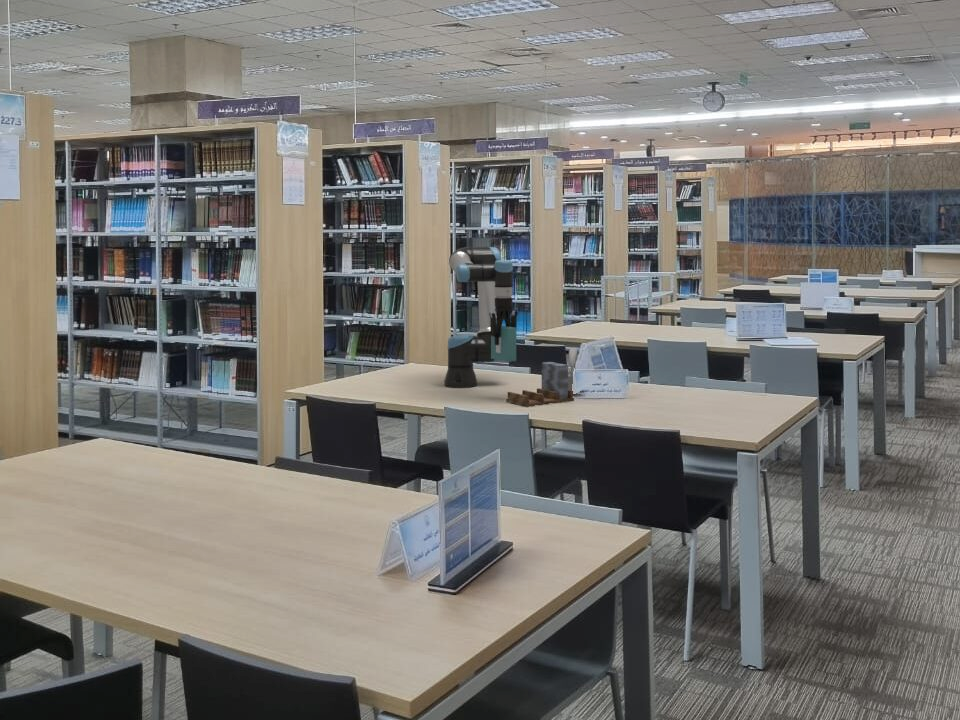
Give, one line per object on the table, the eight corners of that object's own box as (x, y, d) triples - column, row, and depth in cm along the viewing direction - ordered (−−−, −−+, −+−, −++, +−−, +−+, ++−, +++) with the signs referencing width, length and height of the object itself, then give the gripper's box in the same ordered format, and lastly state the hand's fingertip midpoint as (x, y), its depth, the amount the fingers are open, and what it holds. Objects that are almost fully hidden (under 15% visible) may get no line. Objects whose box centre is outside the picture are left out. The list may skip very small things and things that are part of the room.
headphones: (582, 397, 420) (583, 350, 417) (561, 396, 421) (561, 350, 418) (584, 390, 438) (585, 345, 435) (564, 389, 439) (564, 345, 437)
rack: (506, 402, 409) (506, 365, 407) (552, 395, 423) (553, 361, 421) (526, 407, 397) (526, 369, 395) (573, 400, 412) (574, 364, 409)
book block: (491, 358, 419) (491, 325, 417) (499, 357, 422) (499, 325, 420) (507, 361, 410) (507, 328, 408) (516, 360, 412) (516, 327, 410)
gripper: (491, 298, 404) (491, 354, 407) (525, 296, 414) (525, 351, 417) (481, 297, 410) (481, 352, 414) (515, 295, 420) (514, 349, 423)
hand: (503, 352), depth 415 cm, fingers closed on book block, 4 cm apart
